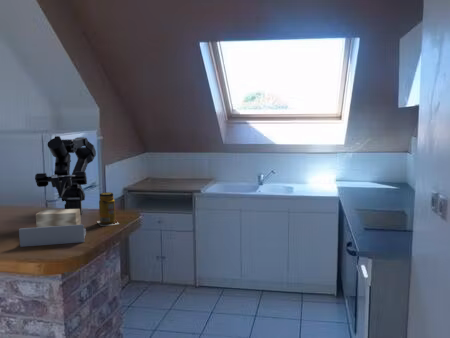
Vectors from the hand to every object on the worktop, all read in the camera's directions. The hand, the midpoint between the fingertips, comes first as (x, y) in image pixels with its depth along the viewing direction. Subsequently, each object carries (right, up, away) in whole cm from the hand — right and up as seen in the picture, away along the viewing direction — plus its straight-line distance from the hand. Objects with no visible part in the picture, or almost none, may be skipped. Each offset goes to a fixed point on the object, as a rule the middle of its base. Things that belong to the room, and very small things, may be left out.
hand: (60, 196), depth 170 cm
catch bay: (+4, -14, -15) cm, 21 cm away
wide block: (+2, -13, -5) cm, 14 cm away
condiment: (+16, -11, +7) cm, 21 cm away
